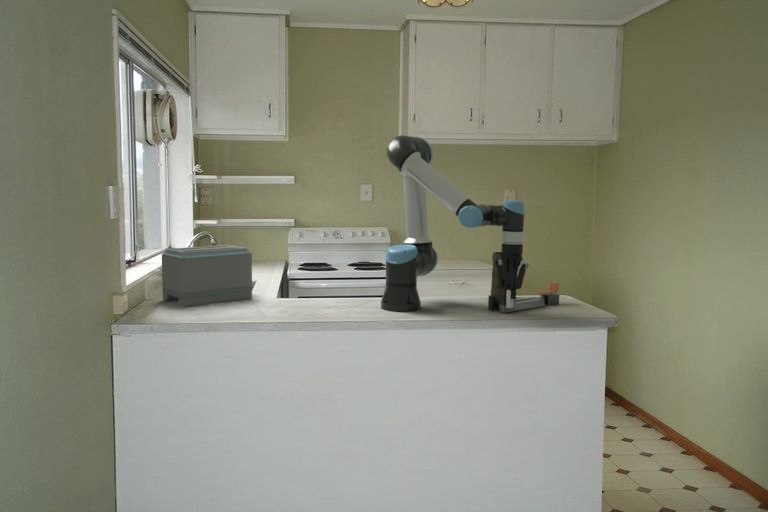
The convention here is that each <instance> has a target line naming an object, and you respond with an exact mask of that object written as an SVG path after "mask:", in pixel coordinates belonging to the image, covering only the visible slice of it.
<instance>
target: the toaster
mask: <svg viewBox="0 0 768 512" xmlns="http://www.w3.org/2000/svg"><path fill="white" fill-rule="evenodd" d="M252 263H253V255H252V252H251V251H250V250H249V249H248V247H243V246H237V245H231V244H224V245H223V244H221V245H220V244H219V245H206V246H192V247H176V248H174V247H173V248H166V249H165V251H163V252H162V254H161V275H162V277H161V279H162V281H161V282H162V284H161V285H162V301H165V302H172V301H175V302H176V301H178V304H179V305H180V307H183V308H190V307H196V306H197V307H198V306H204V305H206V306H207V305H214V304H219V303H227V302H228V303H229V302H236V301H242V300H249V299H250V300H251V299H252V298H253V264H252Z"/></svg>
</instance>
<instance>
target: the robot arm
mask: <svg viewBox="0 0 768 512" xmlns="http://www.w3.org/2000/svg"><path fill="white" fill-rule="evenodd" d="M386 156H387V159H388V161H389V162H390V164H392V165H393V166H394V167H395V168H396V169H397V170H398V173H399V175H401V176H402V177H403V178H402V179H403V181H402V182H403V197H404V198H403V199H404V214H405V215H404V218H405V235H406V238H405V239H404V240H403V242H402V244H395V245H390V246H389V247H388V248H387V250H386V253H385V288H384V292H383V294H382V297H381V300H380V308H381V309H383V310H386V311H392V312H414V311H418V310H420V309H422V302H421V298H420V295H419V291H418V288H417V283H418V282H417V281H418V277H420V276H422V277H423V276H427V275H428V274H430V273H432V272H433V271H434V269H436V266H437V264H438V261H439V257H438V253H437V251H436V250H435V248H434V247H433V240H432V239H431V238H430V237H429V227H428V208H427V192H428V193H430V194H431V195H432V196H433V197H434V198H436V200H437V201H439V202H440V203H441V204H442V205H443V206H445V207H446V208H447V209H448V210H450V211H451V212H452V213H453V214H454V216H457V218H458V220H459V223H460V224H461V225H462V226H463V227H465V228H469V229H472V228H473V229H474V228H478V227H485V226H488V227H489V226H492V227H493V226H494V227H502V228H501V229H502V230H501V243H502V244H501V251H500V252H502V256H501V259H500V260H498V261H495V264H496V266H497V270H498V276H499V282H500V287H503V288H504V289H505V298H506V308H512V307H513V304H514V299H515V298H516V299H517V291H518V290H519V289H520V290H521V289H522V286H523V283H524V278H525V274H526V271H527V269H528V268H529V263H528V262H527V263H526V262H525V261H524V259H523V253H524V252H523V250H524V245H523V244H522V243H523V242H524V227H525V225H524V224H525V214H526V213H525V202H524V201H523V200H519V199H518V200H514V199H513V200H511V199H508V200H507V199H505V200H503V202H502V204H501V205H496V204H477V203H476V202H474V201H473V200H472V199H471V198H470V197H468V196H467V195H466V194H465V193H463V192H462V191H461V190H460V189H459V188H458V187H457V186H455V185H454V184H453V183H452V182H450V180H448V179H447V178H446V177H445V176H443V175H442V174H441V173H440V172H439V171H437V170H436V169H435V168H434V167H433V166H432V165H431V164H430V163H431V162H432V159H433V148H432V146H431V144H430V143H429V142H428V141H427V140H425V139H424V138H421V137H418V136H410V135H403V134H402V135H397V136H395V137H393V138H392V139H390V141H388V144H387V147H386ZM503 264H504V267H503ZM519 267H520V268H519ZM504 271H505V273H504Z"/></svg>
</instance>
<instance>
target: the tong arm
mask: <svg viewBox="0 0 768 512" xmlns="http://www.w3.org/2000/svg"><path fill="white" fill-rule="evenodd" d="M540 307H545V306H544V299H542V298H539V297H538V298H537V299H531V300H524V301H518V302H514V304H513V307H512V308H506V298H505V297H503V298H500V300H499V310H498V312H499V313H503V314H506V313H510V312H518V311H523V310H530V309H534V308H535V309H536V308H540Z"/></svg>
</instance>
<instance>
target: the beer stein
mask: <svg viewBox="0 0 768 512" xmlns="http://www.w3.org/2000/svg"><path fill="white" fill-rule="evenodd" d="M501 256H502V252H501V251H495V252H492V255H491V259H492V269H491V286H490V287H491V288H490V295H500V296H501V298H503V297H505V289H504V288H503V287H500V282H499V276H498V270H497V266H496V264H495V261H498V260H500V259H501ZM503 267H504V264H503ZM504 273H505V271H504ZM515 299H517V297H516V298H515Z"/></svg>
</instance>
